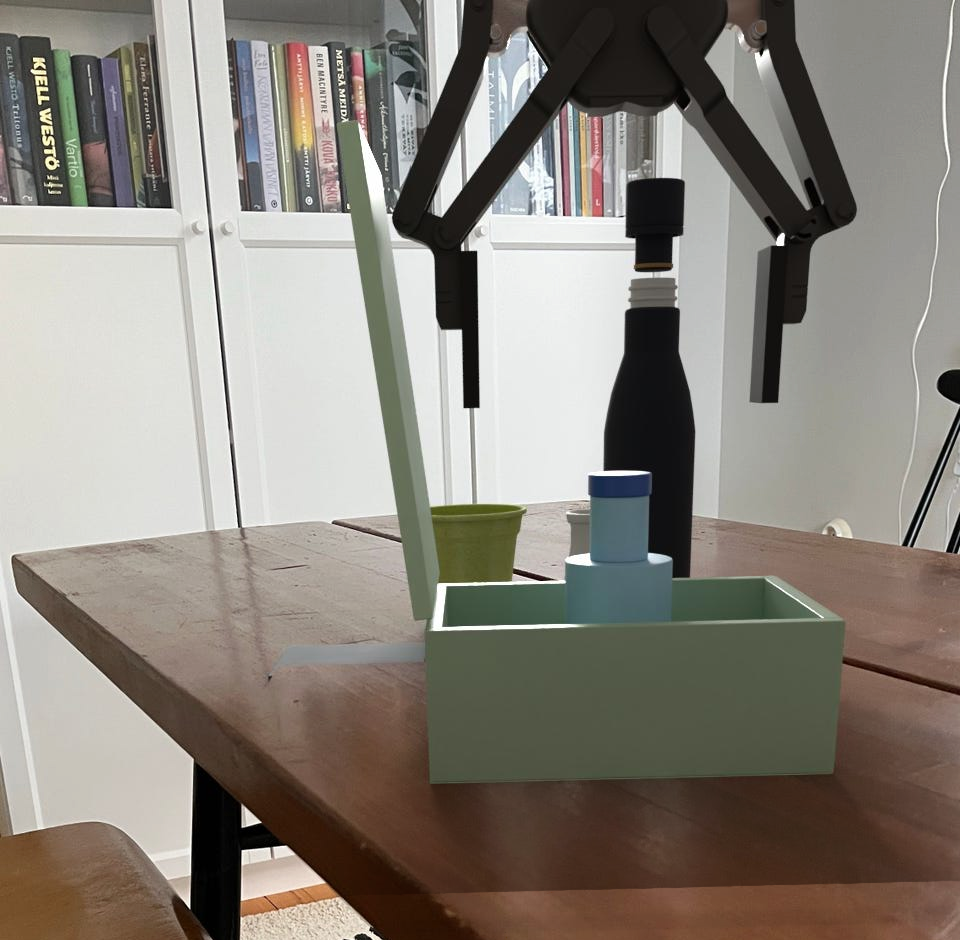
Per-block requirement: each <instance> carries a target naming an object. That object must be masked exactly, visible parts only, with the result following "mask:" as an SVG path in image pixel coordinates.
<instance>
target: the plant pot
mask: <svg viewBox="0 0 960 940" xmlns="http://www.w3.org/2000/svg"><path fill="white" fill-rule="evenodd" d="M430 510H431V517H432V524H433V530H434V537H435V544H436V551H437V558H438V564H439V571H440V574H439V580H438V584H454V583H495V582H513V576H514V566H515V556H516V547H517V539H518V535H519V534H520V532H521V528H522V527H521V526H522V520H523V515H525V514H527V512H528V507H526V506H524V505H519V504H510V503H509V504H508V503H457V504H443V505H433V506H430Z"/></svg>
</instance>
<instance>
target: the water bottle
mask: <svg viewBox="0 0 960 940" xmlns="http://www.w3.org/2000/svg"><path fill="white" fill-rule="evenodd" d="M651 488H652V474H651V473H650V472H645V471H604V472H603V471H596V472H590V473H588V475H587V495H588V496H589V510H590V554H582V555H576V556H572V557H569V558H568V557H566V558H565V560H564V576H565V624H599V623H640V622H671V601H672V568H673V560H672V558H671V557H669V556H665V555H661V554H653V553H648V526H649V495H650V494H651Z"/></svg>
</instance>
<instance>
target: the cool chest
mask: <svg viewBox="0 0 960 940" xmlns="http://www.w3.org/2000/svg"><path fill="white" fill-rule="evenodd" d="M846 621H847V620H845V619H843V618H842V617H841V616H839V615H838V614H836V613H834V612H833V611H831V610H830V609H828V608H827V607H825V606H823V605H822V604H820V603H819V602H817V601H816V600H814V599H812V598H810V597H809V596H807V594H805V593H803V592H801V591H800V590H799V589H797V588H795V586H792V585H791V584H789V583H788V582H786V581H785V580H783V579H781V578H780V577H779V576H777V575H754V576H753V575H747V576H706V577H705V576H704V577H703V576H702V577H690V578H672V601H671V622H640V623H599V624H565V581H563V580H543V581H540V580H539V581H538V580H537V581H536V580H535V581H512V582H495V583H454V584H438V587H437V593H436V600H435V606H434V613H433V618H432V619H426V620H425V626H424V630H423V639H424V640H423V642H425V662H424V663H425V665H424V666H425V667H424V668H425V690H426V691H425V693H426V717H427V718H426V719H427V742H428V743H427V744H428V745H427V746H428V768H429V784H435V785H437V784H474V783H475V784H476V783H510V782H511V783H512V782H513V783H514V782H516V783H517V782H518V783H519V782H552V781H553V782H554V781H560V782H561V781H591V780H592V781H594V780H595V781H596V780H597V781H599V780H634V779H635V780H636V779H637V780H639V779H677V778H678V779H679V778H717V777H718V778H719V777H720V778H721V777H722V778H723V777H755V776H756V777H757V776H759V777H760V776H761V777H763V776H798V775H801V776H803V775H805V776H806V775H833V774H834V771H835V763H836V762H835V761H836V749H837V735H838V722H839V709H840V697H841V686H842V685H841V684H842V674H843V673H842V672H843V661H844V659H843V658H844V648H845V647H844V646H845V636H846V635H845V633H846Z"/></svg>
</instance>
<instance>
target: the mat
mask: <svg viewBox="0 0 960 940" xmlns="http://www.w3.org/2000/svg"><path fill="white" fill-rule="evenodd" d="M392 663H393V664H395V663H396V664H397V663H400V664H401V663H425V642H424V641H421V642H419V641H418V642H415V641H414V642H378V643H373V642H372V643H338V644H337V643H336V644H334V643H333V644H299V645H297V644H296V645H295V644H294V645H292V644H291V645H288V646H287V648H286V649H285V651H284V652H283V654H282V655H281V657H280V658H279V660H277V663H276V664H275V666H274V667H273V669H272V670H271V671H270V673H269V674H268V676H267V681H268V682H270V681H271V680H272V678H273V676H274V675H275V673H276V672H277V670H278V669H279V668H280V666H308V665H309V666H310V665H314V666H316V665H353V664H356V665H359V664H392Z"/></svg>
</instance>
